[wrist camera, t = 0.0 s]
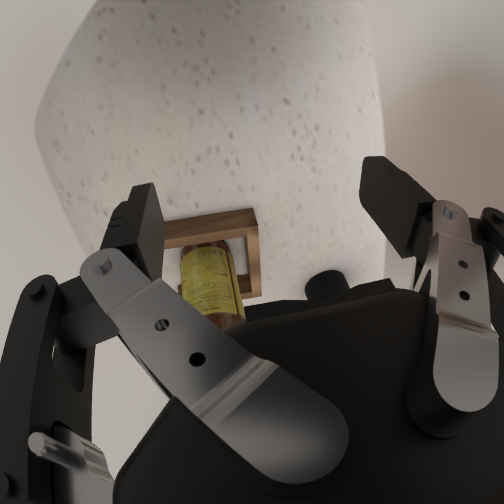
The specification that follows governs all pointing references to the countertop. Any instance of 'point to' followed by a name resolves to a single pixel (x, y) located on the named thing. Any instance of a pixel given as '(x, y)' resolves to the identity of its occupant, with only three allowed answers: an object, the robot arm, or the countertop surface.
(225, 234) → the walnut cradle
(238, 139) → the countertop surface
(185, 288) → the sauce bottle
